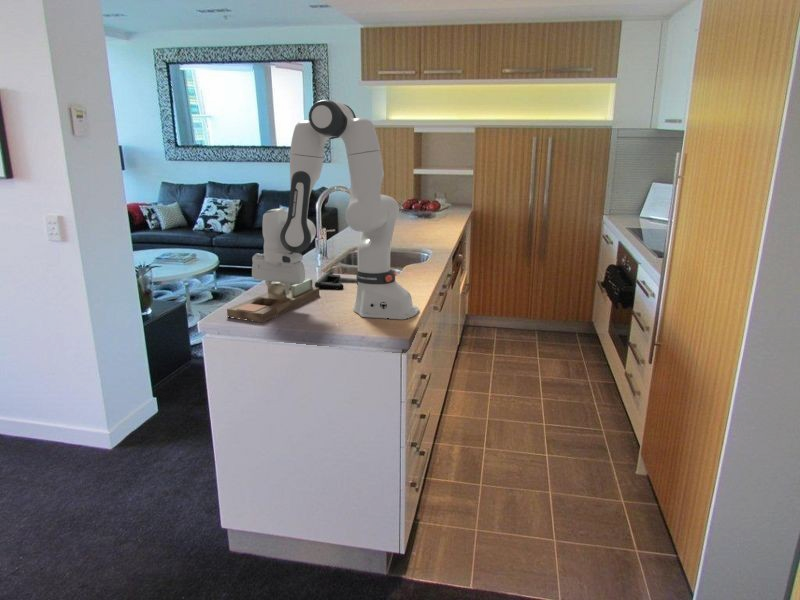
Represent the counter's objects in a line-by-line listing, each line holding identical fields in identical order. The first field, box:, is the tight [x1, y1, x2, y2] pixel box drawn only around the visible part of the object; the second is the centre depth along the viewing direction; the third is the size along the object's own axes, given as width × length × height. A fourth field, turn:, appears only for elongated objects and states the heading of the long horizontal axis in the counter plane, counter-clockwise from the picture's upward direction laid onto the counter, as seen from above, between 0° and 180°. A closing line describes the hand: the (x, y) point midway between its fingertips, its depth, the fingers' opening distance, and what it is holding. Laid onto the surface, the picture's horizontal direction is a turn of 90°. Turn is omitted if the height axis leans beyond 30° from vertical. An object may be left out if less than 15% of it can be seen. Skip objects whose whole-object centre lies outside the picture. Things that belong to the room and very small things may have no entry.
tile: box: [237, 304, 267, 312], centre depth 192 cm, size 7×7×1 cm
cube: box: [267, 282, 286, 299], centre depth 205 cm, size 4×4×4 cm
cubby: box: [274, 277, 314, 296], centre depth 214 cm, size 10×12×4 cm
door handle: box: [312, 271, 357, 290], centre depth 237 cm, size 3×20×16 cm
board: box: [226, 286, 320, 323], centre depth 205 cm, size 14×36×3 cm, turn 158°
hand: (279, 293), depth 206 cm, fingers closed on cube, 4 cm apart
